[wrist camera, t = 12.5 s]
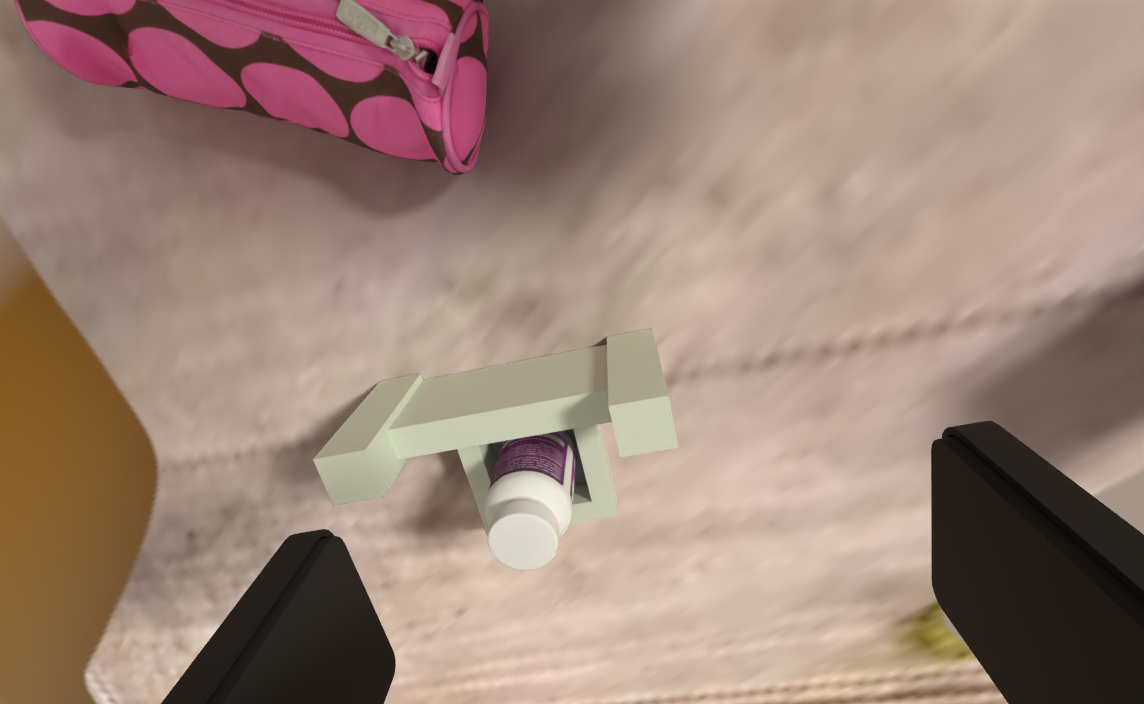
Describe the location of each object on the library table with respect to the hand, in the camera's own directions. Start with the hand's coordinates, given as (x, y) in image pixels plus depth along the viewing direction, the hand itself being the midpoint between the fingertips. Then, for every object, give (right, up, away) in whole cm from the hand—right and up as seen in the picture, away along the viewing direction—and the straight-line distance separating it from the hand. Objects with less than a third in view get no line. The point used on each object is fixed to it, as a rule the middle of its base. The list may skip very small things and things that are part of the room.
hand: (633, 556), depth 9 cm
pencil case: (-15, +21, +24) cm, 35 cm away
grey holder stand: (-4, -3, +32) cm, 32 cm away
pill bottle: (-3, -4, +32) cm, 32 cm away
